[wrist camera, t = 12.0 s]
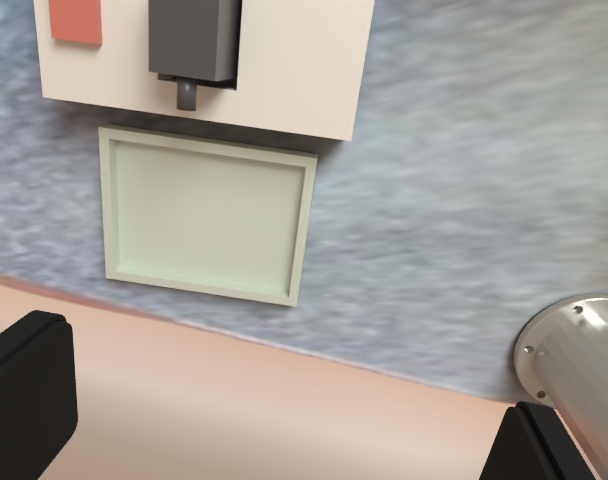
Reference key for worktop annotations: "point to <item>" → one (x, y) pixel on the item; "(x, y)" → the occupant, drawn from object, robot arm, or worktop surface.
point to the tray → (205, 213)
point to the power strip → (210, 94)
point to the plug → (194, 43)
